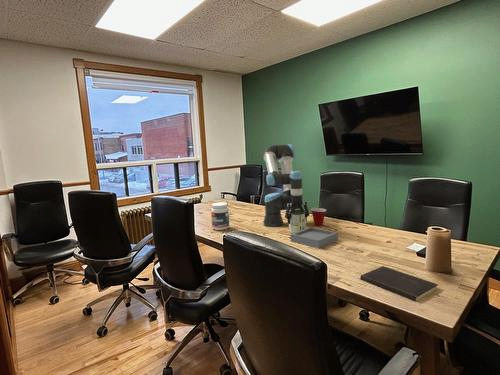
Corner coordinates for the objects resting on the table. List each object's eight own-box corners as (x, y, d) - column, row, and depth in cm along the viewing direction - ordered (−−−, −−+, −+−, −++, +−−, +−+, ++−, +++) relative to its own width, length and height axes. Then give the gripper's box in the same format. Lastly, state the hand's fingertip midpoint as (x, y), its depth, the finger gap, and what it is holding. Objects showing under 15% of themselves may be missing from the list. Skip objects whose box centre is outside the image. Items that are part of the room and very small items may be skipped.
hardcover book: (382, 270, 132) (382, 266, 131) (437, 289, 112) (438, 284, 112) (360, 280, 123) (360, 275, 123) (415, 303, 104) (415, 297, 103)
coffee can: (291, 229, 203) (290, 209, 201) (306, 230, 199) (305, 210, 198) (288, 233, 193) (287, 213, 191) (304, 234, 190) (303, 213, 188)
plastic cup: (327, 227, 204) (326, 210, 203) (311, 227, 207) (310, 210, 205) (326, 223, 215) (325, 207, 213) (311, 223, 217) (310, 207, 216)
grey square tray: (290, 241, 178) (290, 234, 177) (310, 233, 191) (310, 227, 190) (318, 248, 163) (318, 240, 162) (337, 239, 176) (337, 232, 176)
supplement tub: (209, 230, 211) (207, 205, 208) (215, 226, 223) (214, 202, 221) (226, 231, 208) (224, 205, 205) (231, 226, 220) (230, 202, 218)
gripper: (283, 197, 186) (284, 231, 189) (314, 193, 193) (315, 226, 196) (278, 195, 193) (279, 228, 196) (308, 192, 200) (309, 224, 203)
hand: (297, 227), depth 196 cm, fingers closed on coffee can, 10 cm apart
